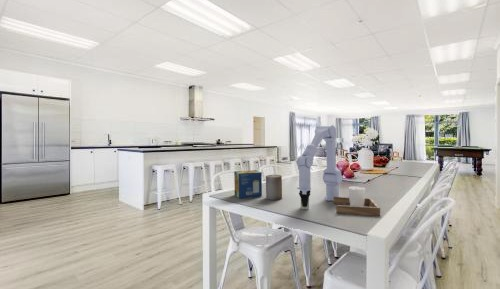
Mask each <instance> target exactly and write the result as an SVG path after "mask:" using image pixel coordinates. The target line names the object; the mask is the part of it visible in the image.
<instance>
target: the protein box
mask: <svg viewBox="0 0 500 289" xmlns="http://www.w3.org/2000/svg"><path fill="white" fill-rule="evenodd" d="M233 174H234V176H233V177H234V183H233V184H234V196H235V195H236V196H237V197H238V198H237V197H236V196H235V197H236V198H237V199H239V198H240V199H250V198H249V197H252V198H260V197H259V196H263V194H262V193H263V192H262V191H263V190H262V188H263V186H262V185H263V184H262V183H263V180H262V179H263V178H262V177H263V176H262V174H263V173H262V172H261V171H259V170H257V169H254V170H234V171H233Z"/></svg>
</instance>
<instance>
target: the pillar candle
mask: <svg viewBox="0 0 500 289" xmlns="http://www.w3.org/2000/svg"><path fill="white" fill-rule="evenodd" d="M282 179H283V177H282V175H281V174H266V175H265V198H267V199H266V200H269V199H270V201H278V200H281V199H283V184H282V183H283V182H282Z"/></svg>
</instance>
